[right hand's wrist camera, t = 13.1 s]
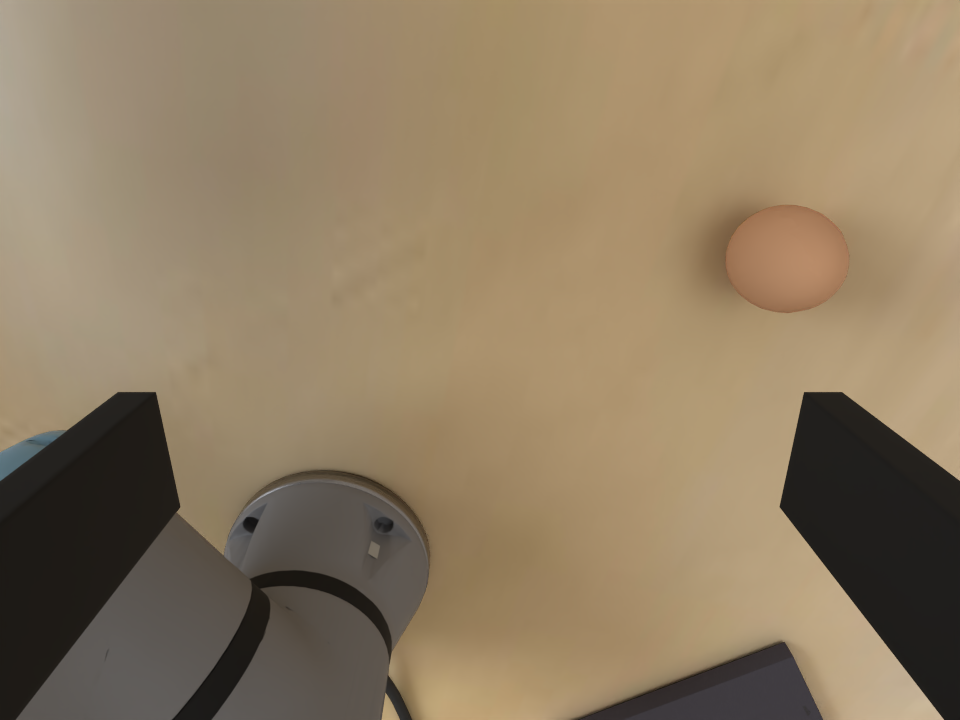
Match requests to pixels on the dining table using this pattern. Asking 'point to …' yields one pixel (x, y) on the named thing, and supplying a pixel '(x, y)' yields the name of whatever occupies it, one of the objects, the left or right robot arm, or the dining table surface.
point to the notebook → (728, 693)
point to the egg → (787, 259)
